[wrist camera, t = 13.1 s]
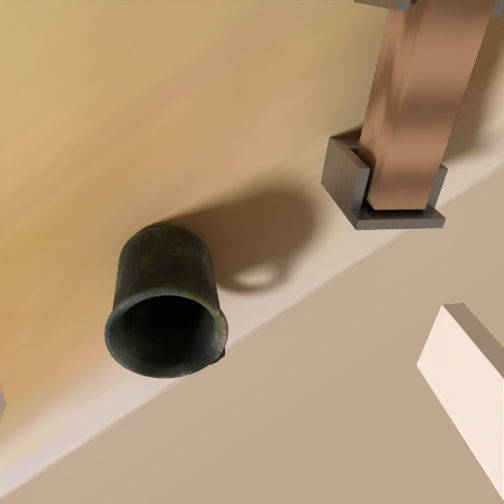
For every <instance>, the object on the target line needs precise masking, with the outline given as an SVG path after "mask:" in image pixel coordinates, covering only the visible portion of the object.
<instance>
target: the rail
mask: <svg viewBox="0 0 504 504" xmlns="http://www.w3.org/2000/svg"><path fill="white" fill-rule="evenodd" d="M495 2H496V0H411V3H410V7H409V11H402V10H393V9H389V14H388V18H387V22H386V27H385V31H384V36H383V40H382V45H381V49H380V53H379V58H378V62H377V67H376V71H375V75H374V80H373V84H372V89H371V93H370V97H369V102H368V106H367V111H366V115H365V120H364V124H363V128H362V133H361V137H360V142H359V146H358V150H357V156H358V157H359V158H360V159H361V160H362V161H363V162H364V163H365V164H366V165H367V166H368V167H369V168H370V171H369V175H368V179H367V184H366V188H365V192H364V196H363V197H364V198H365V199H366V200H367V201H368V203H369V204H370V205H371V206H372V207H373V208H374V209H375V210H400V209H425V207H426V204H427V202H428V199H429V196H430V193H431V190H432V187H433V184H434V181H435V178H436V175H437V172H438V169H439V166H440V163H441V161H442V158H443V155H444V152H445V149H446V146H447V143H448V140H449V137H450V134H451V131H452V128H453V125H454V122H455V120H456V117H457V114H458V111H459V108H460V105H461V102H462V99H463V96H464V93H465V90H466V87H467V84H468V82H469V79H470V76H471V73H472V70H473V67H474V64H475V61H476V58H477V55H478V52H479V49H480V46H481V43H482V41H483V38H484V35H485V32H486V29H487V26H488V23H489V20H490V17H491V14H492V11H493V8H494V5H495Z"/></svg>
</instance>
